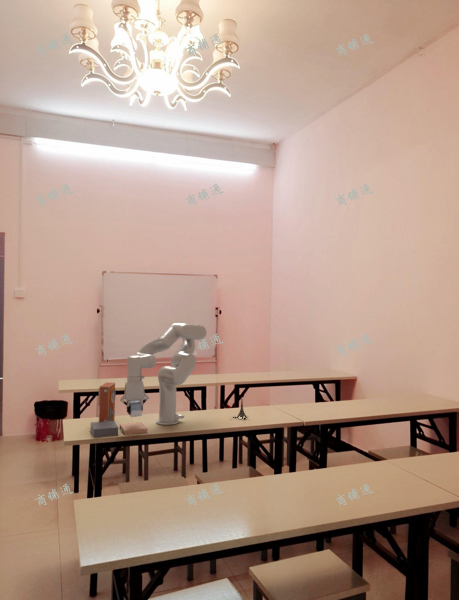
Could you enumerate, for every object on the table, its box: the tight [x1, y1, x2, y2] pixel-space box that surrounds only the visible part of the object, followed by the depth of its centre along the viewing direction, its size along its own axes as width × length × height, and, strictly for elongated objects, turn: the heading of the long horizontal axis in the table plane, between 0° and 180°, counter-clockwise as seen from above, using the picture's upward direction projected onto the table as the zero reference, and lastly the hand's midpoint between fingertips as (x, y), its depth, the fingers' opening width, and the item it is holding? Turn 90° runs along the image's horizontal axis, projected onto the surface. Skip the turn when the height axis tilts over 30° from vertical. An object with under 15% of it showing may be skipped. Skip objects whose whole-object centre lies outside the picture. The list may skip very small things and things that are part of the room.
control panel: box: [98, 382, 117, 422], centre depth 261 cm, size 21×7×15 cm
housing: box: [128, 400, 143, 418], centre depth 248 cm, size 6×9×6 cm, turn 23°
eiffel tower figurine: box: [235, 398, 248, 419], centre depth 276 cm, size 15×10×13 cm
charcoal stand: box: [90, 420, 119, 438], centre depth 241 cm, size 12×14×4 cm
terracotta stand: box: [119, 421, 149, 436], centre depth 247 cm, size 12×14×2 cm
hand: (134, 412), depth 248 cm, fingers closed on housing, 5 cm apart
